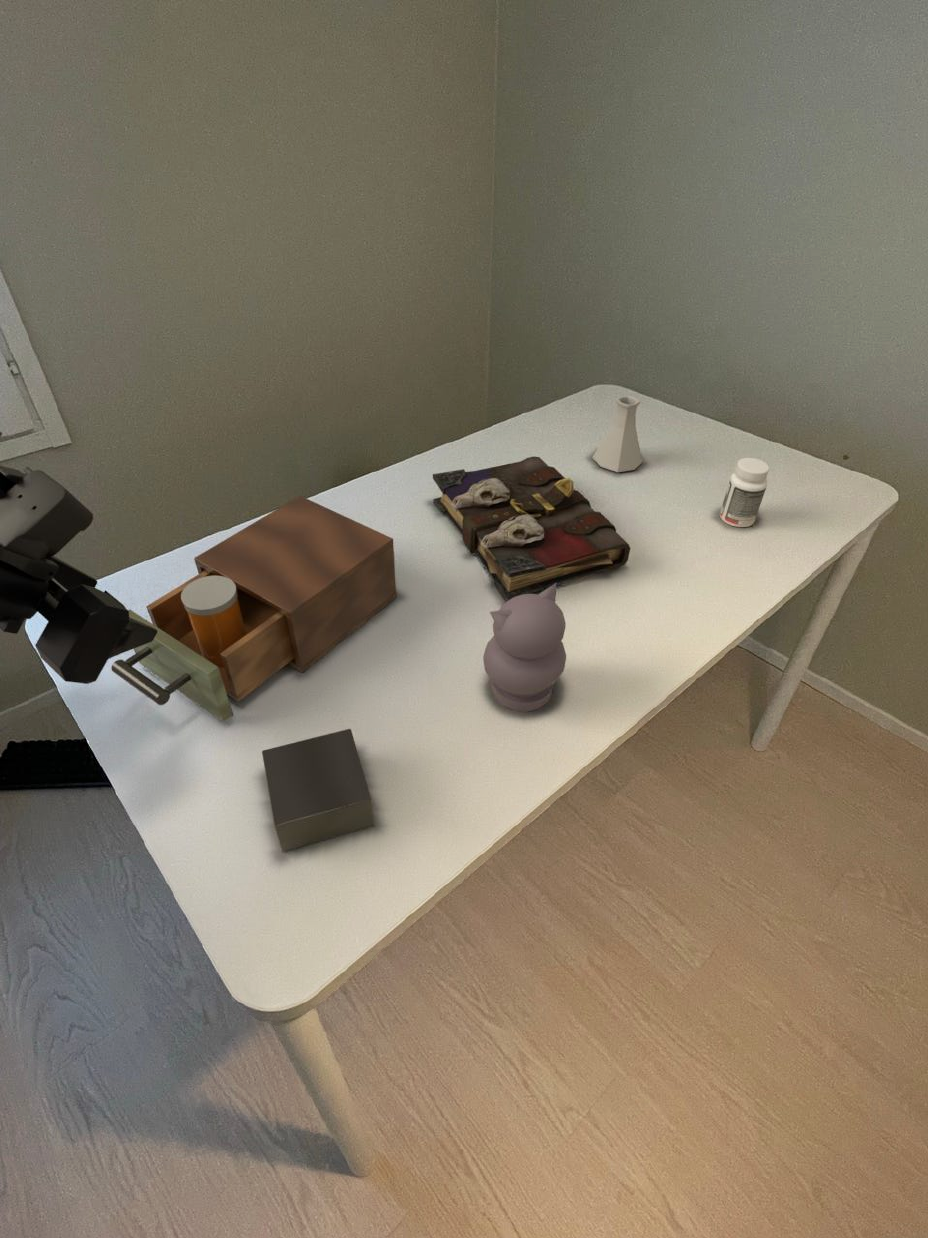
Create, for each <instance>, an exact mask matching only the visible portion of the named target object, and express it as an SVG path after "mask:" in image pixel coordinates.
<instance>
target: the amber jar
mask: <svg viewBox="0 0 928 1238" xmlns="http://www.w3.org/2000/svg"><path fill="white" fill-rule="evenodd" d="M237 596H238V593H237V589H236V585H235V583H234V582H233V581H232V580H230V579H229V578H227V577H223V576H206V577H202V578H199V579H197V580H194V581H193V582H191V583H189V584H188V585H187V586H186V587H185V588H184V589H183V591H182V594H181V600H182V603H183V606H184V608H185V609H186V612H187V615H188V618H189V621H190V624H191V627H192V630H193V633H194V636H195V639H196V642H197V645H198V648H199V651H200V654H201V656H202V657H204V658H205V659H207V660H208V661H210V662H211V663H213V664H214V665H216V666H217V667H224V665H223V662H222V659H221V655H220V653H222V652H223V651H224V650H226V649H227V648H229V647H230V646H232V645H233V644H234V643H236V642H237V641H239V640H240V639H241V638H243V637H244V636H246V635H247V632H246V628H245V624H244V620H243V616H242V612H241V608H240V605H239V601H238V597H237Z"/></svg>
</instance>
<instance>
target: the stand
mask: <svg viewBox="0 0 928 1238" xmlns="http://www.w3.org/2000/svg"><path fill="white" fill-rule="evenodd" d="M261 754H262V761H263V767H264V772H265V779H266V785H267V791H268V797H269V803H270V809H271V814H272V821H273V827H274V830H275V833H276V836H277V840H278V844H279V847H280V850H281V852H282V853H283V852H287V851H290V850H294V849H298V848H302V847H304V846H305V847H306V846H308V845H312V844H315V843H318V842H319V843H320V842H321V841H325V840H329V839H332V838H335V837H339V836H342V835H346V834H350V833H353V832H355V831H360V830H364V829H367V828H370V827H373V826H375V818H374V817H375V816H374V809H373V801H372V797H371V794H370V791H369V790H370V789H369V786H368V783H367V780H366V776H365V773H364V769H363V766H362V763H361V758H360V756H359V752H358V748H357V745H356V741H355V737H354V734H353V732H352V729H351V728H347V729H343V730H340V731H334V732H331V733H327V734H323V735H320V736H316V737H312V738H307V739H303V740H299V741H295V742H291V743H288V744H284V745H280V746H276V747H271V748H268V749H263V750H262V751H261Z"/></svg>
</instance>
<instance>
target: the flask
mask: <svg viewBox="0 0 928 1238" xmlns="http://www.w3.org/2000/svg"><path fill="white" fill-rule="evenodd" d="M615 402H616V404H617V406H616V412H615V415H614V418H613V420H612V423H611V425H610V427H609V429H608V430H607V432H606V434H605V435H604V438H603V439H602V441H601V442H600V444H599V446H598V447H597V449H596V450H595V452H594V454H593V456H592V459H593V460H594V461H595V463H597V465H598V466H600V467H601V468H604V469H606V470H609V471H613V472H615V473H621V472H622V473H623V472H629V471H635V470H636V469H637V468H639V466H640V465H642V463H643V457H642V452H641V448H640V443H639V438H638V437H639V436H638V431H637V425H636V421H637V420H636V418H637V416H636V415H637V410H638V409H637V408H638V406H640V404H641V401H640V400H639V399H638V397H635V396H632V395H620V396H619V397H618V398H616V400H615Z"/></svg>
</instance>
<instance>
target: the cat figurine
mask: <svg viewBox="0 0 928 1238" xmlns="http://www.w3.org/2000/svg"><path fill="white" fill-rule="evenodd" d="M557 585H558V584H557V583H555V584H554V585H552V586H549V587H547V588H546V589H544V590H543V592H541V593H539V594H523V595H519V596H516V597H514V598H512V599H510V600H509V601H507V602H504V603H503V604H502V606H500V608H498V610H493V611H489V613H490V615H491V617H492V620H493V622H492V631H493V632H492V633H493V636H492V637H491V638H490V639H489V641H488V642H487V644H486V646H485V648H484V652H483V655H482V659H483V665H484V671H485V673H486V675H487V677H488V678H489V680H490V681H491V682H490V684H491V686H490V688H491V694H492V695H493V698H495V700H496V702H497V703H499V704H500V705H501V706H502V707H504V708H507V709H509V710H511V711H515V712H522V713H524V712H525V713H526V712H533V711H536V710H538V709H541V708H542V707H544V706H545V705H547V704H548V702H549V701H550V699H551V697H552V692H553V685H554V683H556V682H557V681H558V679H559V678H560V677H561V675H562V674H563V673H564V670H565V668H566V667H565V666H566V662H567V652H566V649H565V645H564V643H563V642H562V640H563V639H564V636H565V632H566V624H567V623H566V619H565V615H564V613H563V610H562V609H561V608H560V606H559V605H558V604H557V603H556V597H557Z"/></svg>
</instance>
